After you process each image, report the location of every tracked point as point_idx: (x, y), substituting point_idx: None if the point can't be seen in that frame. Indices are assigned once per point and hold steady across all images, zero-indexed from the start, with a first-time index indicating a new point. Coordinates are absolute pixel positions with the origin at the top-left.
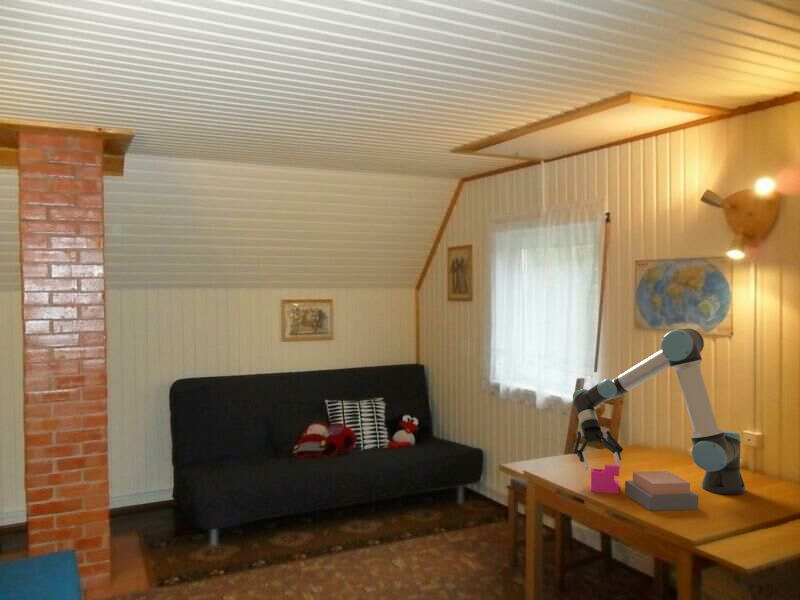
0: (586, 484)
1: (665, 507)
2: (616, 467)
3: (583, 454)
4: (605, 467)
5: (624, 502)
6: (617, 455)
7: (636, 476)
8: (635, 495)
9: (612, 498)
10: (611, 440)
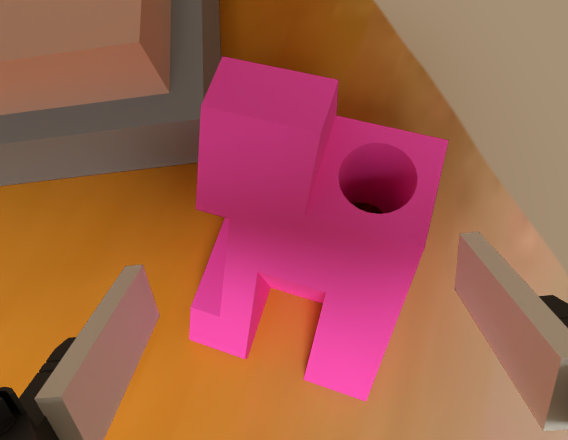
0: (411, 351)
1: None
2: (243, 62)
3: (563, 331)
4: (333, 87)
5: (283, 33)
6: (75, 353)
7: (149, 7)
8: (213, 36)
9: None
10: None
